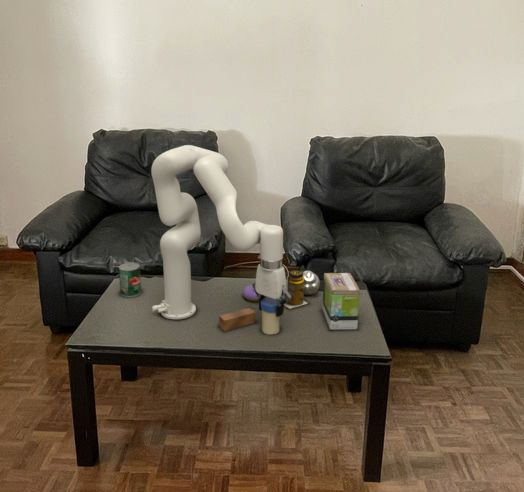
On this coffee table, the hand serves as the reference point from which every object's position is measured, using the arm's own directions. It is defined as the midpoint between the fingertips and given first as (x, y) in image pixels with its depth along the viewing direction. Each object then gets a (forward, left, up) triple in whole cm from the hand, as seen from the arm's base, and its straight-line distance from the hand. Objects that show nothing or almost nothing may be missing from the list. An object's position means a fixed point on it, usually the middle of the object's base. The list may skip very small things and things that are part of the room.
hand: (271, 311), depth 185 cm
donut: (+8, +24, -7) cm, 26 cm away
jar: (0, 0, -7) cm, 7 cm away
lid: (0, 0, +3) cm, 3 cm away
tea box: (+25, -6, -7) cm, 26 cm away
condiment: (+18, +13, -7) cm, 23 cm away
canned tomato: (-32, +52, -7) cm, 62 cm away
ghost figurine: (+27, +16, -7) cm, 32 cm away
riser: (-8, +9, -7) cm, 14 cm away
